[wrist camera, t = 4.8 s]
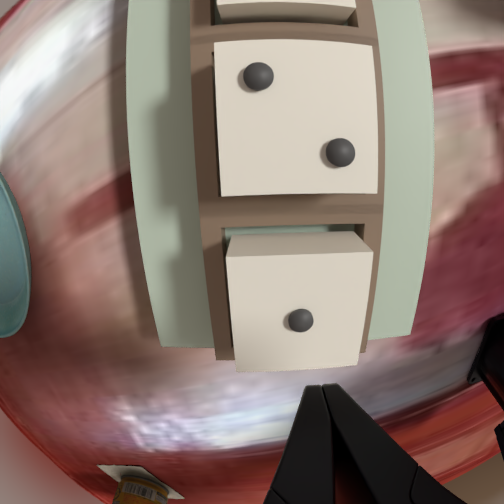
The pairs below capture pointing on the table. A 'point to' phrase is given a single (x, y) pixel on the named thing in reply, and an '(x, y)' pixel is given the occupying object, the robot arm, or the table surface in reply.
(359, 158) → the two-pip key
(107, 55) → the table surface
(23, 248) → the saucer
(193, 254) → the board
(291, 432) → the robot arm
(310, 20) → the three-pip key
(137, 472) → the condiment
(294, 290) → the one-pip key
